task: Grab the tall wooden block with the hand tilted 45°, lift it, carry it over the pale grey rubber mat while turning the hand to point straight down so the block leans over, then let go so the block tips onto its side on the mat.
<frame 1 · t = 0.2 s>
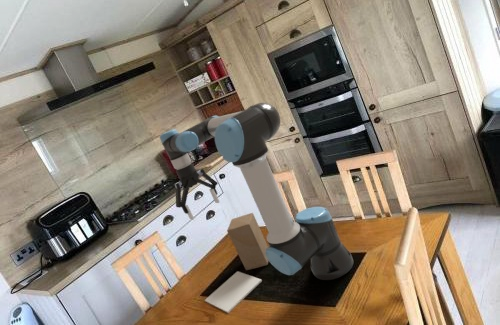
hand: (205, 210, 158), 28 cm above the table, tool pointing down, fingers open, 13 cm apart
grey mat: (233, 291, 144), on the table
wooden block: (258, 261, 157), on the table
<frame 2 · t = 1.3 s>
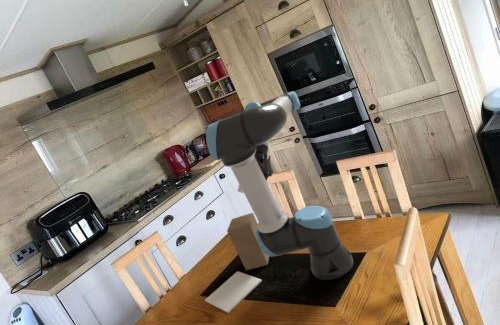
hand: (250, 192, 156), 27 cm above the table, tool tilted 45°, fingers open, 13 cm apart
nothing on the table moved.
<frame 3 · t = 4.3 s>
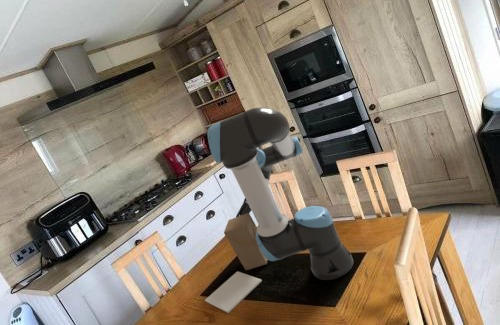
hand: (248, 237, 155), 11 cm above the table, tool tilted 45°, fingers closed on wooden block, 13 cm apart
wooden block: (258, 260, 157), on the table, touching gripper
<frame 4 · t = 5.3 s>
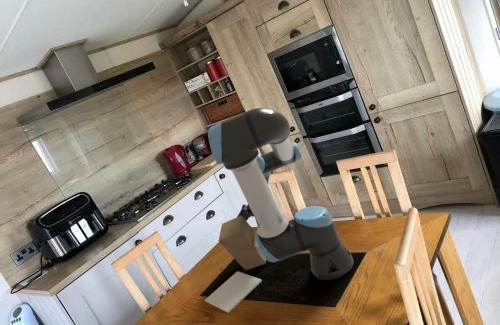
hand: (246, 244, 153), 10 cm above the table, tool tilted 45°, fingers closed on wooden block, 13 cm apart
wooden block: (256, 258, 157), point 2 cm above the table, touching gripper
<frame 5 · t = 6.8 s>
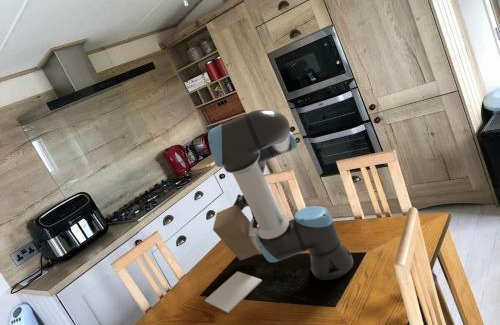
hand: (240, 234, 153), 15 cm above the table, tool tilted 45°, fingers closed on wooden block, 13 cm apart
wooden block: (251, 248, 156), point 6 cm above the table, touching gripper
when the fingers open (21 cm above the table, at t = 8.7 s): wooden block drops 8 cm, resting on grey mat.
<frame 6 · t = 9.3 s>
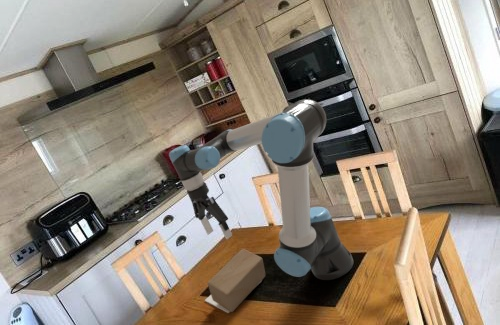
hand: (219, 234, 142), 23 cm above the table, tool pointing down, fingers open, 13 cm apart
wooden block: (254, 261, 145), point 7 cm above the table, touching grey mat
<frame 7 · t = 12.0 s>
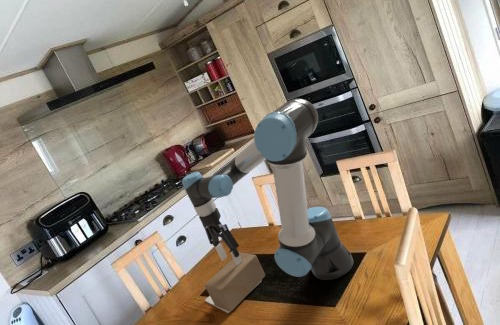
hand: (232, 260, 144), 11 cm above the table, tool pointing down, fingers open, 9 cm apart
wooden block: (252, 263, 146), point 6 cm above the table, touching grey mat, gripper
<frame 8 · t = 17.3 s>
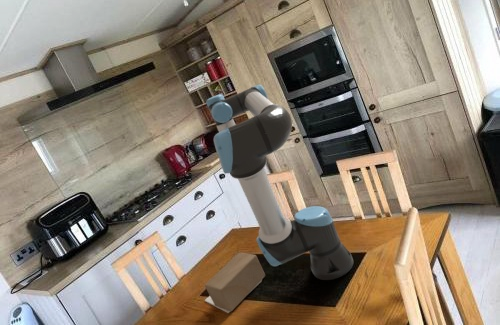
hand: (248, 176, 159), 33 cm above the table, tool pointing down, fingers open, 13 cm apart
wooden block: (252, 263, 146), point 6 cm above the table, touching grey mat
at the end: wooden block tilted 90°; wooden block touching grey mat; the gripper is holding nothing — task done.
